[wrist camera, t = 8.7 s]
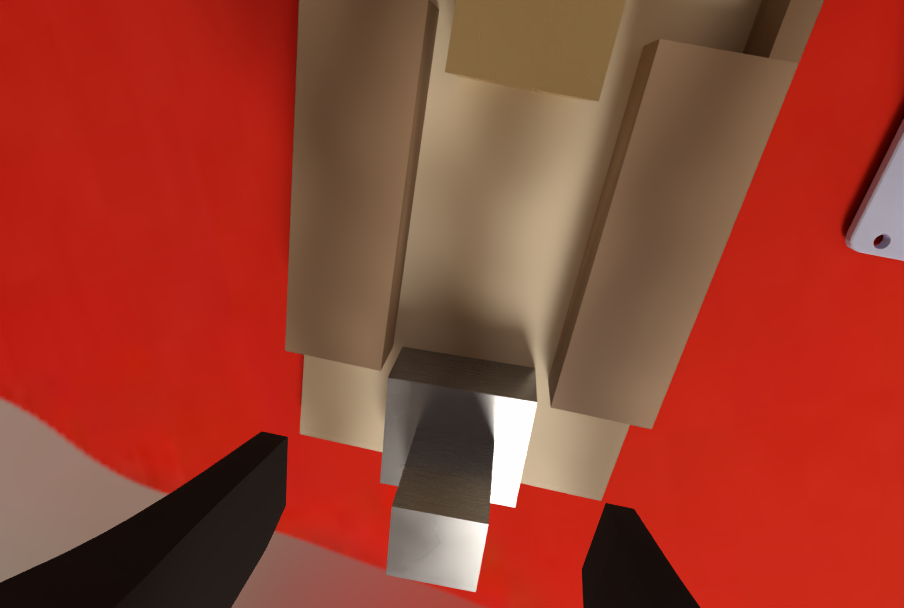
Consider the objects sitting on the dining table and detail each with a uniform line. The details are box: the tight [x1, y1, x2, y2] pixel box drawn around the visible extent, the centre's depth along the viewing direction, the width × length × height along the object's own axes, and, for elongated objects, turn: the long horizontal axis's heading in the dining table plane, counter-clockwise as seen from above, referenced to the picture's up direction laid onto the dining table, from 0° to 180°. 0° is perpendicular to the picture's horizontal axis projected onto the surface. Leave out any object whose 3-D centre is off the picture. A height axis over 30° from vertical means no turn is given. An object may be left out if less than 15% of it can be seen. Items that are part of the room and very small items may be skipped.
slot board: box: [285, 0, 824, 501], centre depth 17 cm, size 14×28×3 cm, turn 170°
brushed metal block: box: [380, 347, 537, 592], centre depth 18 cm, size 6×5×6 cm
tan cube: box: [445, 0, 626, 102], centre depth 14 cm, size 4×4×4 cm
